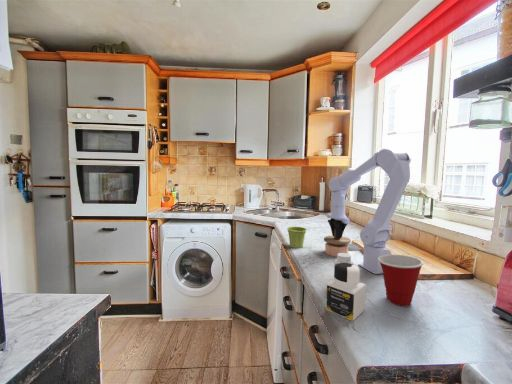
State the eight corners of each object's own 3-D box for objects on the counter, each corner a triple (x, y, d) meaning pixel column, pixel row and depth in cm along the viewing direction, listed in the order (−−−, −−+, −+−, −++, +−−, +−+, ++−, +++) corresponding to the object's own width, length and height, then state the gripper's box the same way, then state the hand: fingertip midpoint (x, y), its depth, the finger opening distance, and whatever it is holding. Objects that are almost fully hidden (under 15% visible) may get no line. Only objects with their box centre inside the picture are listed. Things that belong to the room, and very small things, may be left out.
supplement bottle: (348, 282, 80) (349, 251, 79) (355, 291, 75) (356, 257, 74) (331, 282, 80) (332, 251, 79) (336, 290, 75) (337, 257, 74)
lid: (356, 243, 104) (356, 231, 103) (333, 245, 101) (333, 234, 100) (340, 236, 114) (340, 226, 114) (319, 238, 111) (319, 228, 111)
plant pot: (309, 246, 120) (310, 228, 119) (300, 250, 113) (300, 232, 112) (293, 242, 126) (293, 225, 125) (282, 246, 119) (283, 229, 118)
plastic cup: (381, 287, 77) (382, 249, 76) (423, 299, 70) (425, 257, 69) (371, 301, 68) (373, 259, 67) (418, 316, 61) (420, 269, 60)
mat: (366, 250, 113) (366, 249, 113) (343, 252, 110) (343, 251, 110) (350, 243, 124) (350, 242, 124) (329, 245, 122) (329, 244, 121)
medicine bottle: (325, 310, 64) (327, 265, 63) (339, 300, 69) (340, 258, 68) (352, 322, 59) (354, 273, 58) (364, 310, 64) (366, 265, 63)
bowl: (351, 256, 105) (352, 246, 104) (332, 258, 103) (333, 248, 102) (339, 250, 113) (340, 240, 113) (322, 251, 111) (322, 242, 111)
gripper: (356, 207, 100) (355, 240, 101) (336, 203, 114) (336, 232, 115) (341, 208, 99) (340, 241, 100) (323, 203, 113) (322, 233, 114)
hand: (337, 236), depth 107 cm, fingers closed on lid, 3 cm apart
